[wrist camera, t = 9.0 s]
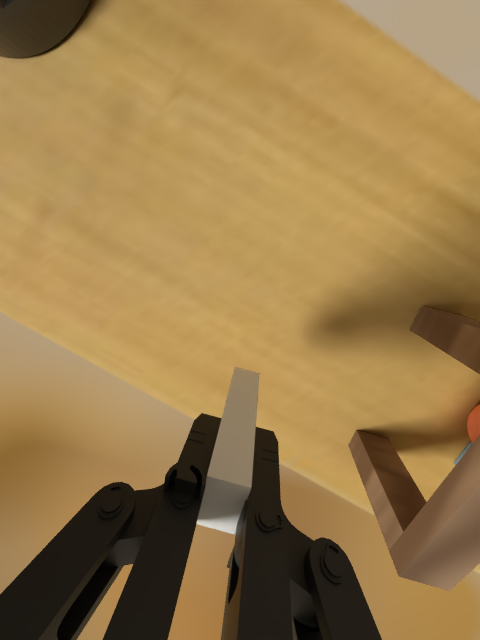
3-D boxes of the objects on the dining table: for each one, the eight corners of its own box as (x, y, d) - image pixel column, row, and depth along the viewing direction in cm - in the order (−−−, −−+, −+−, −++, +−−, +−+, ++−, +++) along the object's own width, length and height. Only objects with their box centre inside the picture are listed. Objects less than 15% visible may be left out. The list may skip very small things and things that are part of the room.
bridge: (348, 445, 22) (398, 576, 14) (422, 305, 17) (577, 371, 8) (379, 453, 22) (449, 591, 13) (462, 315, 17) (661, 392, 8)
